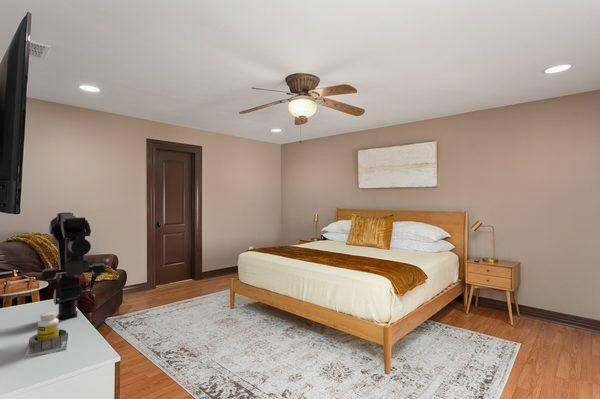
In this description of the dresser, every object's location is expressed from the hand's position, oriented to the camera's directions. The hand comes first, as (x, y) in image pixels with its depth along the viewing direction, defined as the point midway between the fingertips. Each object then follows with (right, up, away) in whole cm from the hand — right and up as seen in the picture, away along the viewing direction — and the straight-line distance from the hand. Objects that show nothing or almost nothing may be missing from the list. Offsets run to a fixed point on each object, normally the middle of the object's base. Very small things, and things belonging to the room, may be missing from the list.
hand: (75, 294), depth 117 cm
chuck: (+1, -13, -14) cm, 19 cm away
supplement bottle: (+1, -12, -14) cm, 18 cm away
